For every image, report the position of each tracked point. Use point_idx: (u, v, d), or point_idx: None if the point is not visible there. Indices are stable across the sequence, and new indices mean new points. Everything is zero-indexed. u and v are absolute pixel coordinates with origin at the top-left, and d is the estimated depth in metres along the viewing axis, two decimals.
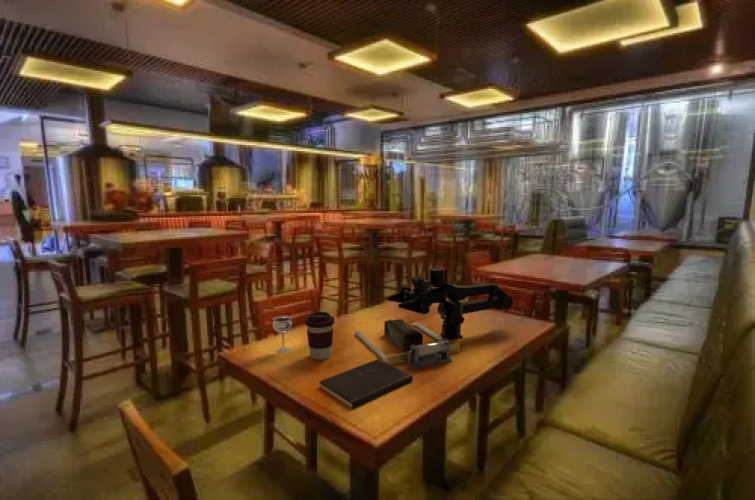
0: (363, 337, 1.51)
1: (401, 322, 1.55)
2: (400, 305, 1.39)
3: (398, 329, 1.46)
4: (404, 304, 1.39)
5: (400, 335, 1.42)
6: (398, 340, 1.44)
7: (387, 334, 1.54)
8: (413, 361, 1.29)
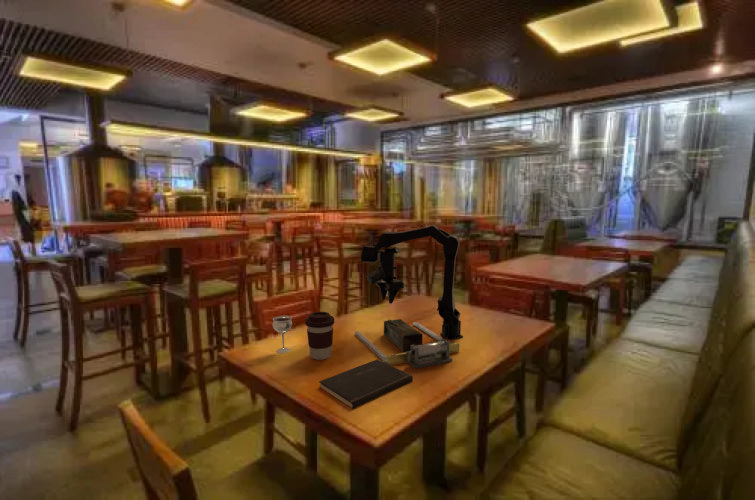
0: (363, 337, 1.51)
1: (400, 322, 1.55)
2: (390, 302, 1.57)
3: (398, 329, 1.46)
4: (390, 299, 1.57)
5: (400, 335, 1.42)
6: (398, 340, 1.43)
7: (386, 334, 1.54)
8: (413, 361, 1.29)
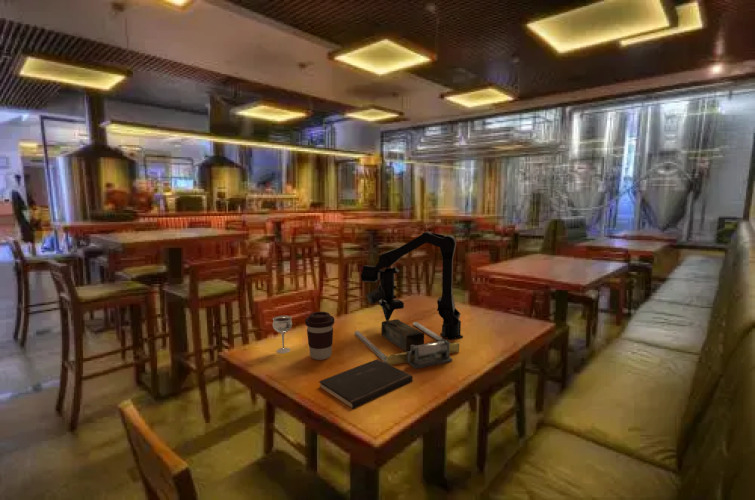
0: (363, 337, 1.51)
1: (398, 322, 1.55)
2: (387, 319, 1.61)
3: (398, 329, 1.45)
4: (387, 316, 1.61)
5: (402, 335, 1.42)
6: (399, 340, 1.43)
7: (385, 335, 1.53)
8: (413, 361, 1.29)
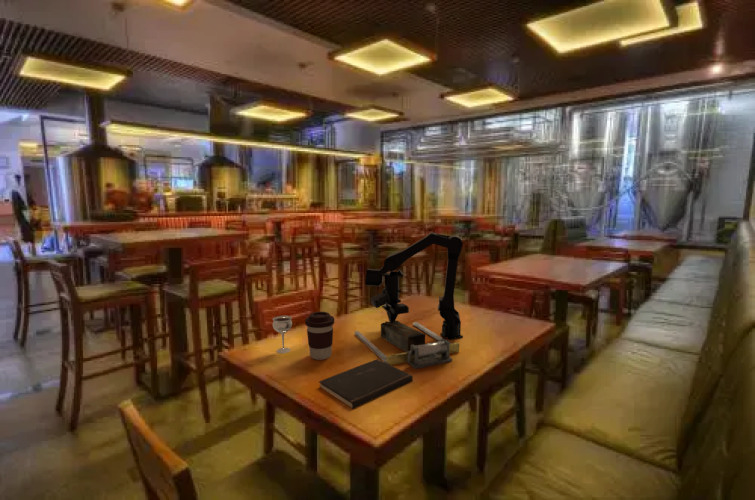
0: (363, 337, 1.51)
1: (398, 323, 1.53)
2: None
3: (399, 331, 1.44)
4: (391, 320, 1.57)
5: (403, 337, 1.40)
6: (400, 341, 1.42)
7: (385, 336, 1.52)
8: (413, 361, 1.29)
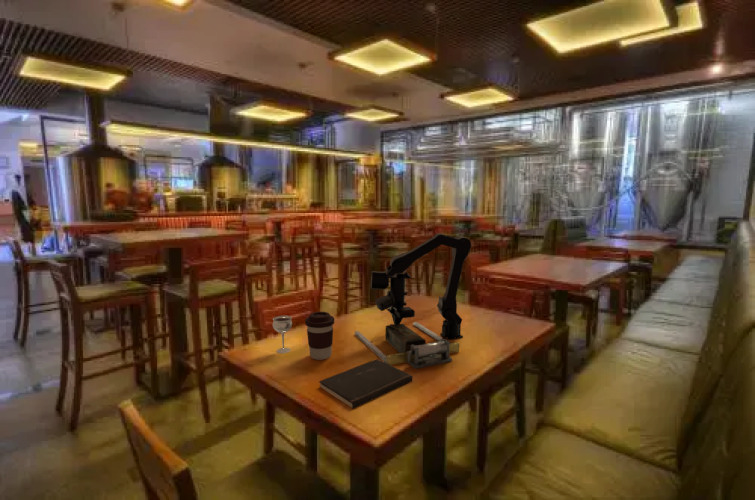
0: (363, 337, 1.51)
1: (403, 327, 1.49)
2: None
3: (400, 334, 1.40)
4: (396, 323, 1.53)
5: (402, 341, 1.36)
6: (400, 346, 1.38)
7: (388, 339, 1.48)
8: (413, 361, 1.29)
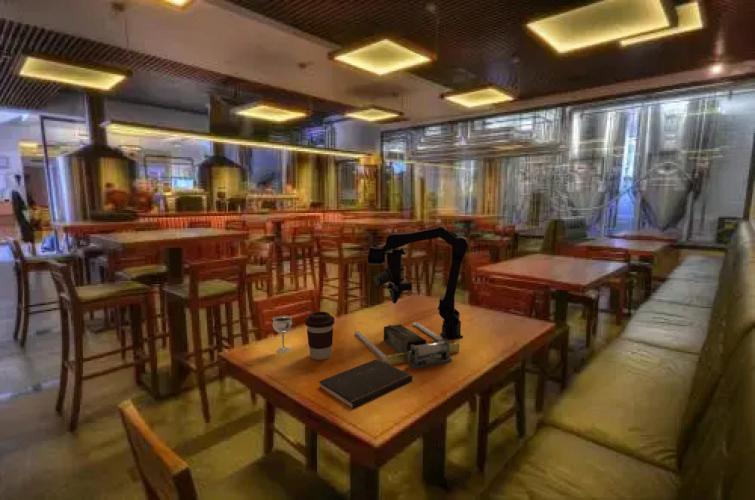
0: (363, 337, 1.51)
1: (401, 327, 1.49)
2: (394, 302, 1.58)
3: (400, 335, 1.40)
4: (394, 299, 1.57)
5: (403, 342, 1.36)
6: (400, 346, 1.37)
7: (387, 340, 1.48)
8: (413, 361, 1.29)
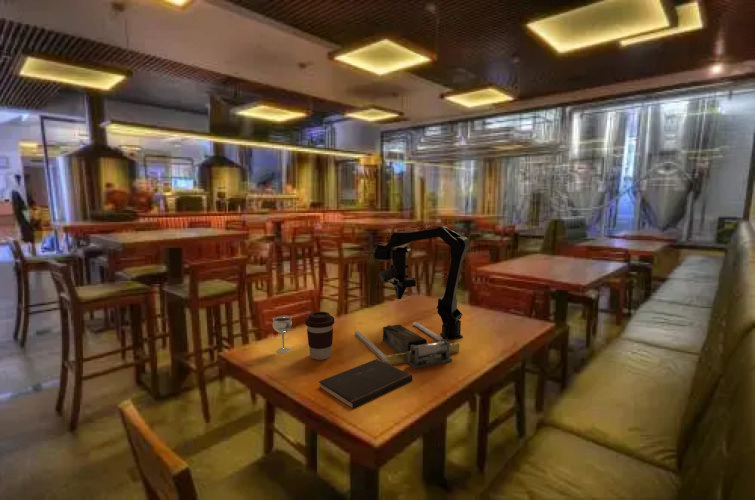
0: (363, 337, 1.51)
1: (400, 328, 1.49)
2: (399, 298, 1.63)
3: (400, 335, 1.39)
4: (399, 295, 1.63)
5: (403, 342, 1.36)
6: (401, 347, 1.37)
7: (386, 341, 1.48)
8: (413, 361, 1.29)
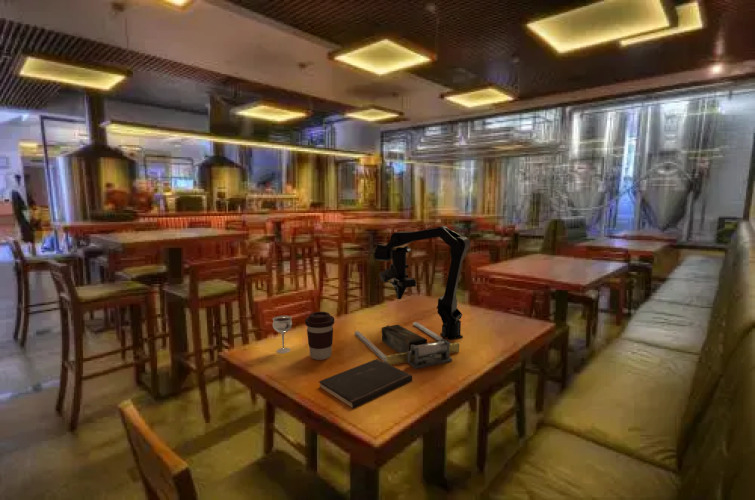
0: (363, 337, 1.51)
1: (399, 328, 1.48)
2: (399, 298, 1.63)
3: (400, 335, 1.39)
4: (399, 295, 1.63)
5: (404, 342, 1.36)
6: (401, 347, 1.37)
7: (386, 341, 1.47)
8: (413, 361, 1.29)
